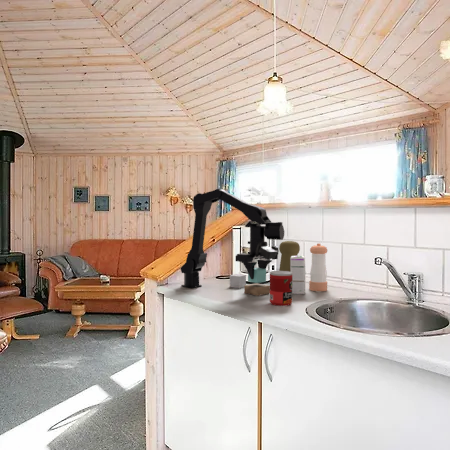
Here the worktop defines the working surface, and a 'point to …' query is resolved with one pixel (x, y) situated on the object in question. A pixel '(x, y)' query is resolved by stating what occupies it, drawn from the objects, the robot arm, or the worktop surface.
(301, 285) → the syrup box
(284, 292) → the canned food
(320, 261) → the pepper shaker
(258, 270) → the teal cube
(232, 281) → the grey cube
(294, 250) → the pepper shaker
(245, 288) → the oak slab
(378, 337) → the worktop surface
